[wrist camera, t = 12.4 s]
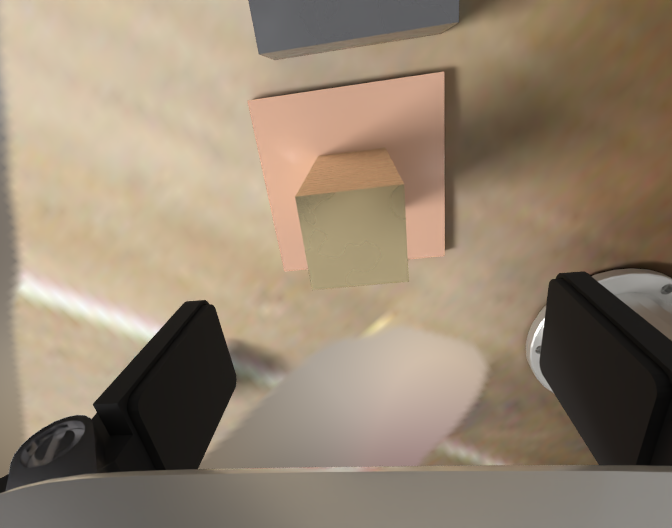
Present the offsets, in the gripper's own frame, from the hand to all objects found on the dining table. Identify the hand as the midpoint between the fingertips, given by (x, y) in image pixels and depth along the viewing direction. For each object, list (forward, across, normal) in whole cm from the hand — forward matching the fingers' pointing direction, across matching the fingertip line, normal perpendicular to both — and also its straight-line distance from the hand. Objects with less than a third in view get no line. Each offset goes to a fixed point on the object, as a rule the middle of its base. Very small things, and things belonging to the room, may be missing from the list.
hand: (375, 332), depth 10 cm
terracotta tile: (+17, +1, -1) cm, 17 cm away
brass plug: (+16, +1, -1) cm, 16 cm away
